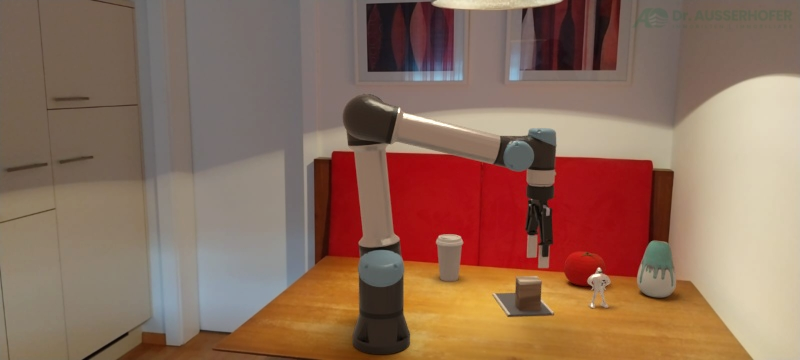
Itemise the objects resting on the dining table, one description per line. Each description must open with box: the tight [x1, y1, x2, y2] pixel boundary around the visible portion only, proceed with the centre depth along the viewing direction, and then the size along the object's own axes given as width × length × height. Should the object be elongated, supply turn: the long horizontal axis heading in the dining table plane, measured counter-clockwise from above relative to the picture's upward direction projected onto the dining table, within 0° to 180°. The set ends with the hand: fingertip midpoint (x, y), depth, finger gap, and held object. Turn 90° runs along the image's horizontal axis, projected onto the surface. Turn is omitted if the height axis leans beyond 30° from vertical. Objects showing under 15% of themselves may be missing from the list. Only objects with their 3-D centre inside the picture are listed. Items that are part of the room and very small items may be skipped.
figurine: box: [587, 268, 611, 309], centre depth 180 cm, size 7×4×12 cm, turn 94°
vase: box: [636, 240, 677, 299], centre depth 190 cm, size 12×12×18 cm
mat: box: [492, 292, 555, 318], centre depth 182 cm, size 18×14×1 cm
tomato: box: [563, 251, 606, 287], centre depth 200 cm, size 12×14×12 cm
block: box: [514, 275, 543, 311], centre depth 177 cm, size 5×7×9 cm
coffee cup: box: [435, 233, 464, 282], centre depth 206 cm, size 10×10×15 cm
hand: (537, 262), depth 167 cm, fingers open, 9 cm apart
